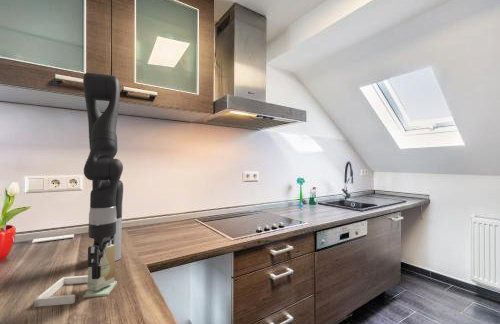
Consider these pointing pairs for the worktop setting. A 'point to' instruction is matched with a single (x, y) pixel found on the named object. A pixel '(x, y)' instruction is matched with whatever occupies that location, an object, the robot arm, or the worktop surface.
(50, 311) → the worktop surface
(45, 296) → the white frame
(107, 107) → the robot arm
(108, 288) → the pad
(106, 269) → the skincare box
